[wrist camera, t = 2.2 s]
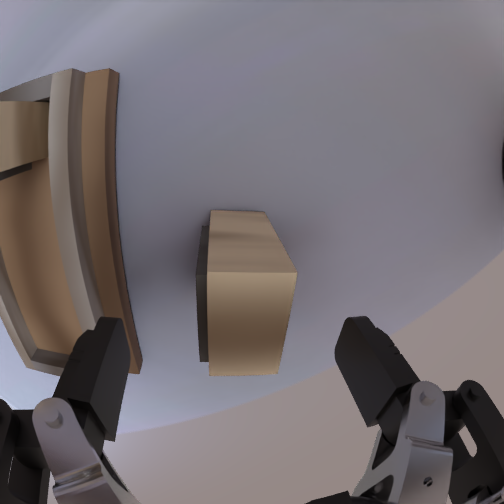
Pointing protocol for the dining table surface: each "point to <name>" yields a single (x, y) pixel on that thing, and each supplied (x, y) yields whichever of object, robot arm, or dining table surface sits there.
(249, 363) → the maple finger
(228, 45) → the dining table surface
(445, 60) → the dining table surface
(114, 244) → the rail base
